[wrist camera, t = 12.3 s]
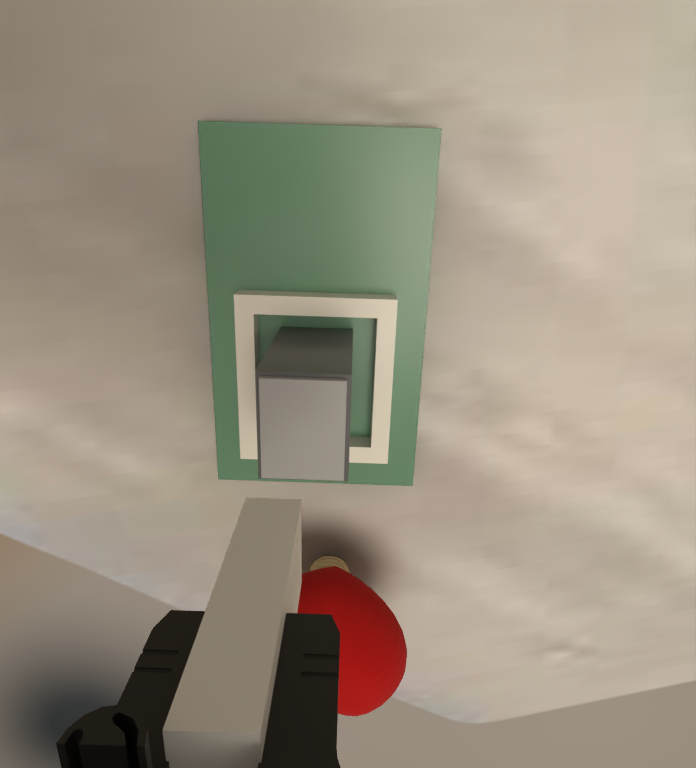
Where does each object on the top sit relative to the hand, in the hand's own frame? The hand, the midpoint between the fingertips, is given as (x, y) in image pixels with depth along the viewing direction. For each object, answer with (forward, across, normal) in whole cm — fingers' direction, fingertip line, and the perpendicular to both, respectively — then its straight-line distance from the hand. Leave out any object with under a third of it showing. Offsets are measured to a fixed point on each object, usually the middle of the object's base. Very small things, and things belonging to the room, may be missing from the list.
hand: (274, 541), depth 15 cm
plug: (+16, 0, 0) cm, 16 cm away
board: (+18, 0, +2) cm, 18 cm away
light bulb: (+18, +1, -15) cm, 23 cm away
